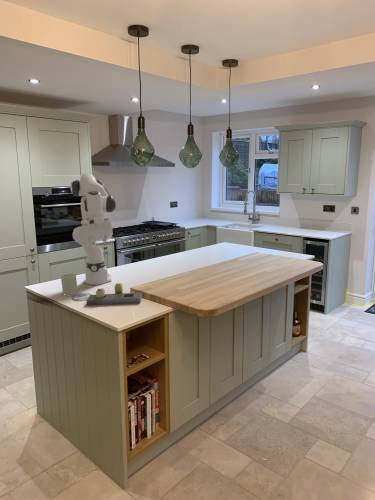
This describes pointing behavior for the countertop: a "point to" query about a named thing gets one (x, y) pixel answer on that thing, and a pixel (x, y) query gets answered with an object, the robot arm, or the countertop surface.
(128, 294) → the grey peg hole board
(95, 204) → the robot arm
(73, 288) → the glass tumbler
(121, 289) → the wooden post chunk
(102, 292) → the tan square peg
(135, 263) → the countertop surface
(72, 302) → the countertop surface
